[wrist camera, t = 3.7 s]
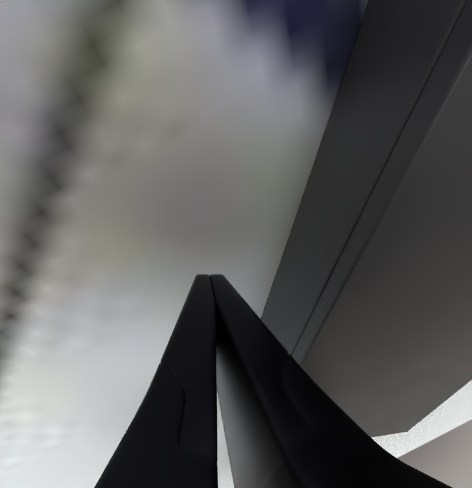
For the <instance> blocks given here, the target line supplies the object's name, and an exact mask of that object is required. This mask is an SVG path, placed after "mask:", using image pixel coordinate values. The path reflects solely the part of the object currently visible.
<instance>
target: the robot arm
mask: <svg viewBox="0 0 472 488" xmlns="http://www.w3.org/2000/svg"><path fill="white" fill-rule="evenodd" d="M217 393H218V398H219V404H220V409H221V415H222V421H223V426H224V432H225V437H226V443H227V449H228V454H229V460H230V465H231V471H232V477H233V482H234V488H452V487H450V486H447V485H446V484H444V483H442V482H440V481H438V480H436V479H434V478H432V477H430V476H428V475H426V474H424V473H423V472H421V471H418V470H417V469H414V468H413V467H411V466H409V465H407V464H405V463H403V462H402V461H400V460H399V459H397V458H395V457H394V456H393V455H391V454H390V453H388V452H387V451H386V450H384V449H383V448H382V447H381V446H380V445H378V444H377V443H376V442H375V441H374V440H373V439H372V438H371V437H370V436H369V435H368V434H367V433H366V432H365V431H363V430H362V429H361V428H360V427H359V426H358V425H357V424H356V423H355V422H354V421H353V420H352V419H351V418H350V417H349V416H348V415H347V414H346V413H345V412H344V411H343V410H342V409H341V408H340V407H339V406H338V405H337V404H336V403H335V402H334V401H333V400H332V399H331V398H330V397H329V396H328V395H327V394H326V393H325V392H324V391H323V390H322V389H321V388H320V387H319V386H318V385H317V384H316V383H315V382H314V381H313V380H312V379H311V378H310V376H309V375H308V374H307V373H306V372H305V371H304V370H303V369H302V367H301V366H300V365H299V364H298V363H297V362H296V360H295V359H294V358H293V357H292V356H291V355H290V354H288V351H287V350H286V349H285V348H284V346H283V345H282V344H281V343H280V342H279V341H278V339H277V338H276V337H275V336H274V335H273V333H272V332H271V331H270V330H269V329H268V328H267V326H266V325H265V324H264V323H263V322H262V320H261V319H260V318H259V317H258V316H257V315H256V313H255V312H254V311H253V310H252V309H251V307H250V306H249V305H248V304H247V303H246V302H245V300H244V299H243V298H242V297H241V296H240V294H239V293H238V292H237V291H236V290H235V289H234V287H233V286H232V285H231V284H230V283H229V281H228V280H227V279H226V278H225V277H224V276H223V275H221V274H212V275H210V276H209V275H208V274H198V275H196V277H195V279H194V281H193V284H192V286H191V289H190V291H189V294H188V296H187V298H186V301H185V303H184V306H183V308H182V311H181V313H180V315H179V318H178V320H177V323H176V325H175V328H174V330H173V332H172V335H171V337H170V340H169V342H168V345H167V347H166V349H165V352H164V354H163V357H162V359H161V363H160V364H159V366H158V368H157V371H156V373H155V376H154V378H153V380H152V382H151V384H150V387H149V389H148V391H147V393H146V396H145V398H144V399H143V401H142V403H141V405H140V407H139V409H138V411H137V413H136V415H135V417H134V419H133V420H132V422H131V424H130V426H129V427H128V429H127V431H126V433H125V435H124V436H123V438H122V440H121V442H120V443H119V445H118V447H117V449H116V450H115V452H114V454H113V456H112V458H111V459H110V461H109V463H108V465H107V466H106V468H105V470H104V472H103V473H102V475H101V477H100V479H99V480H98V482H97V484H96V486H95V487H94V488H218V472H217Z"/></svg>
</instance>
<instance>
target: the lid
mask: <svg viewBox="0 0 472 488" xmlns="http://www.w3.org/2000/svg"><path fill="white" fill-rule="evenodd" d="M261 320H262V322H263V323H264V324H265V325H266V326H267V328H268V329H269V330H270V331H271V332H272V333H273V335H274V336H275V337H276V338H277V339H278V341H279V342H280V343H281V344H282V345H283V346H284V348H285V349H286V350H287V351H288V354H290V355H291V356H292V357H293V358H294V359H295V360H296V362H297V363H298V364H299V365H300V366H301V367H302V369H303V370H304V371H305V372H306V373H307V374H308V375H309V376H310V378H311V379H312V380H313V381H314V382H315V383H316V384H317V385H318V386H319V387H320V388H321V389H322V390H323V391H324V392H325V393H326V394H327V395H328V396H329V397H330V398H331V399H332V400H333V401H334V402H335V403H336V404H337V405H338V406H339V407H340V408H341V409H342V410H343V411H344V412H345V413H346V414H347V415H348V416H349V417H350V418H351V419H352V420H353V421H354V422H355V423H356V424H357V425H358V426H359V427H360V428H361V429H362V430H363V431H365V432H366V433H367V434H368V435H369V436H370V437H376V436H382V435H389V434H395V433H401V432H407V431H408V430H410V429H411V428H412V427H413V426H415V425H416V424H417V423H418V422H420V421H421V420H422V419H423V418H425V417H426V416H427V415H428V414H430V413H431V412H432V411H433V410H435V409H436V408H437V407H438V406H439V405H441V404H442V403H443V402H444V401H446V400H447V399H448V398H449V397H451V396H452V395H453V394H454V393H456V392H457V391H458V390H459V389H461V388H462V387H463V386H464V385H466V384H467V383H468V382H469V381H470V380H472V0H370V1H369V4H368V6H367V9H366V12H365V15H364V18H363V21H362V24H361V27H360V30H359V33H358V36H357V39H356V42H355V45H354V48H353V51H352V53H351V56H350V59H349V62H348V65H347V68H346V71H345V74H344V77H343V80H342V83H341V86H340V89H339V92H338V95H337V98H336V100H335V103H334V106H333V109H332V112H331V115H330V118H329V121H328V124H327V127H326V130H325V133H324V136H323V139H322V142H321V145H320V147H319V150H318V153H317V156H316V159H315V162H314V165H313V168H312V171H311V174H310V177H309V180H308V183H307V186H306V189H305V192H304V194H303V197H302V200H301V203H300V206H299V209H298V212H297V215H296V218H295V221H294V224H293V227H292V230H291V233H290V236H289V239H288V241H287V244H286V247H285V250H284V253H283V256H282V259H281V262H280V265H279V268H278V271H277V274H276V277H275V280H274V283H273V286H272V288H271V291H270V294H269V297H268V300H267V303H266V306H265V309H264V312H263V315H262V318H261Z"/></svg>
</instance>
